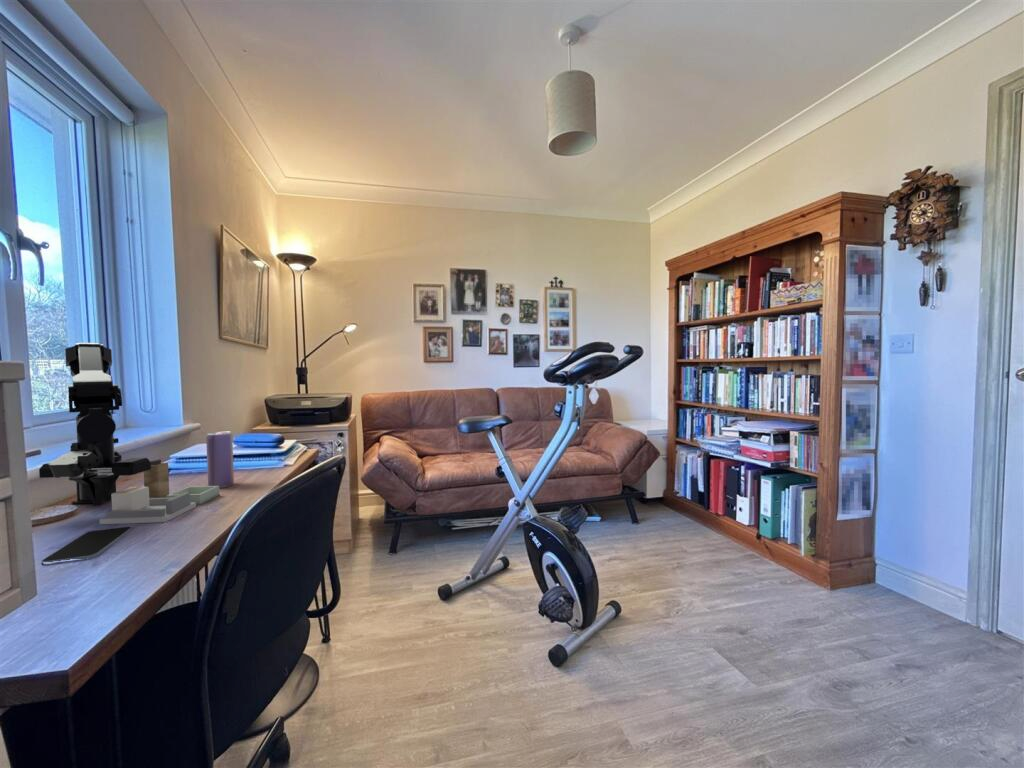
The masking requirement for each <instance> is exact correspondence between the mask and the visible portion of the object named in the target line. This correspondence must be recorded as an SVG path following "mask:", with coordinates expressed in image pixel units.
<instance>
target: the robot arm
mask: <svg viewBox="0 0 1024 768" xmlns="http://www.w3.org/2000/svg"><path fill="white" fill-rule="evenodd" d="M112 353H113V352H112V349H111V348H109V347H105V346H104V344H103V343H99V342H78V343H74V346H70V347H66V348H65V350H64V354H65V367H69V369H70V375H71V377H72V385H71V384H69V385H68V386H67V389H68V410H69V414H70V413H77V414H76V415H77V416H75V421H76V437H77V438H76V440H77V441H76V442H71V445H70V451H69V452H67V453H63V454H62V455H60V456H59V457H57V458H56V459H54V460H52V461H50V462H47V463H43V464H42V465H41V466H40V468H39V470H38V474H39V478H40V479H42V478H43V479H45V478H55V479H58V478H68V480H69V481H70V482H71V481H73V482H76V483H75V484H76V485H75V486H76V500H75V499H74V500H72V501H70V504H75V505H76V504H78V505H79V504H93V506H94V507H100V506H102V505H104V503H105V501H108V500H112V497H111V494H112V493H115V492H117V482H116V481H117V480H118V478H119V477H121V476H122V477H123V476H133V475H137V474H140V473H144V471H147V470H150V469H151V460H150V459H149V458H148V457H130V458H126V459H123V460H122V455H121V454H120V452H118V449H116V450H115V444H119V442H120V441H119V438H118V437H116V438H114V434H115V432H116V427H117V424H116V422H115V420H114V419H113V417H114V416H113V414H112V413H111V411H118V410H119V411H120V407H123V398H122V391H121V390H122V389H121V388H119V385H118V384H117V383H113V376H111V375H110V374H109V367H112V366H113V354H112Z"/></svg>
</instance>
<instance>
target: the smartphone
mask: <svg viewBox="0 0 1024 768" xmlns="http://www.w3.org/2000/svg"><path fill="white" fill-rule="evenodd" d="M132 530H133V526H132V525H131V526H130V525H129V526H122V527H114V528H113V527H112V528H103V529H95V530H90V531H87V532H85V533H82V534H81V535H80V536H78V537H77V538H75V539H74V540H72V541H70V542H69V543H67V544H66V545H64V546H62V547H61V548H59V549H57V550H55V552H54V551H53V553H51V554H49V555H48V556H47V557H45V558H43V559H42V560H41V563H42V562H53V561H61V560H70V559H87V558H91V559H94V558H93V557H95V558H96V557H98V556H100V555H101V554H103V552H105V551H106V550H107V549H109V548H111V547H112V546H113V545H114V544H115V543H117V542H119V540H121V539H122V538H123V537H125V535H127V534H129V533H130V532H131V531H132ZM87 560H88V559H87Z"/></svg>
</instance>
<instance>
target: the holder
mask: <svg viewBox="0 0 1024 768" xmlns="http://www.w3.org/2000/svg"><path fill="white" fill-rule="evenodd" d="M189 492H190V503H191V502H196V506H201V505H203V504H205V503H206V502H209V501H211V500H213V499H215V498H217V497H218V496H220V488H219V486H208V485H198V486H197V485H193V486H186V487H183V488H181V489H179V490H176V491H173V492H172V493H169V495H167V498H168V497H175V496H178V495H180V494H182V493H189Z"/></svg>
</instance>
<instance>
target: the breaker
mask: <svg viewBox="0 0 1024 768" xmlns="http://www.w3.org/2000/svg"><path fill="white" fill-rule="evenodd" d="M111 497H112V498H111V510H134V509H142V508H145V507H147V506H149V505H150V504H149V487H144V486H142V485H137V486H129V487H126V488H124V489H121V490H117V491H116V492H115V493H112V494H111Z"/></svg>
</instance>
